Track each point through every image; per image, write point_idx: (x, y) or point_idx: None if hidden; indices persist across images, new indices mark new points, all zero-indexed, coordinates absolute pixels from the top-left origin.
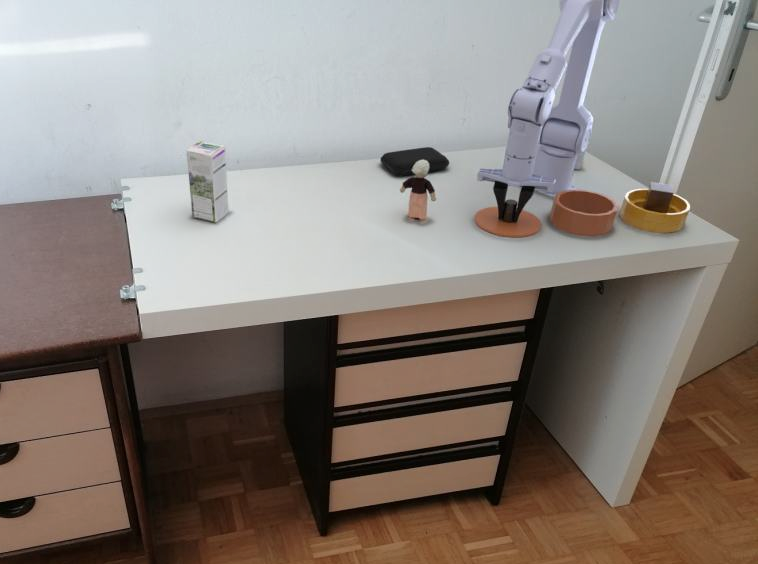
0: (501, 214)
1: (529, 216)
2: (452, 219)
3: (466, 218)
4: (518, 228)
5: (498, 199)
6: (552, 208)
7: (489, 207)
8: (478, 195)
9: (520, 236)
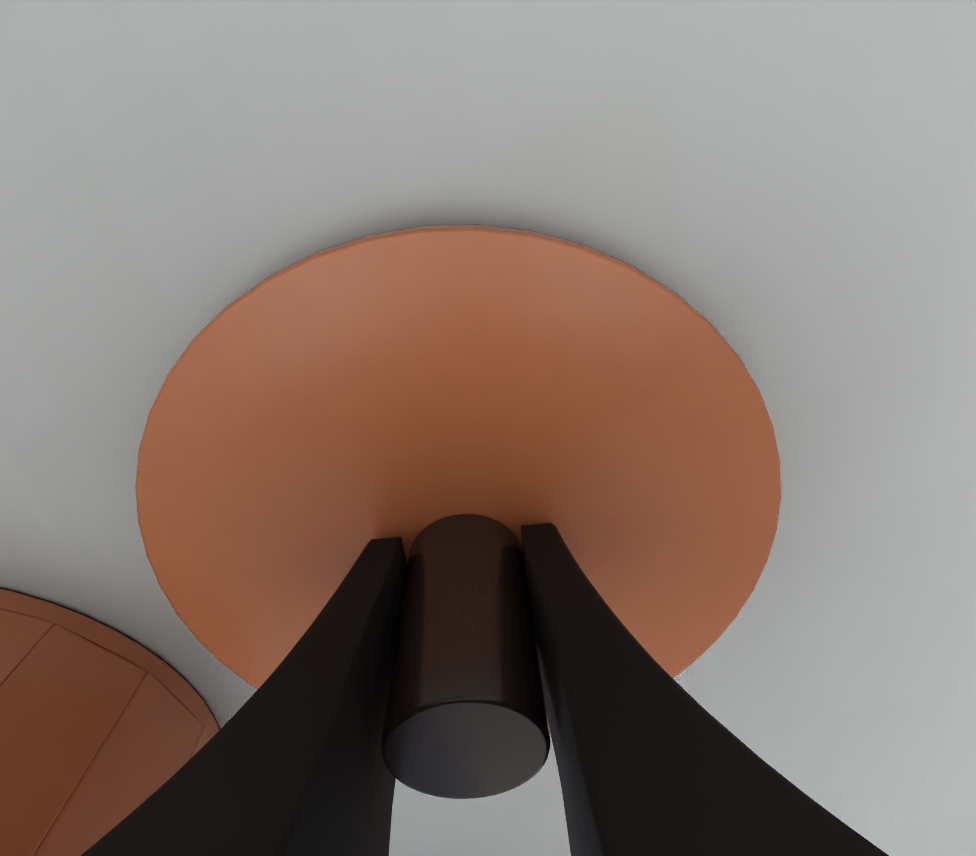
0: (537, 558)
1: None
2: (962, 419)
3: (824, 491)
4: (314, 450)
5: (668, 715)
6: None
7: None
8: None
9: (231, 303)
